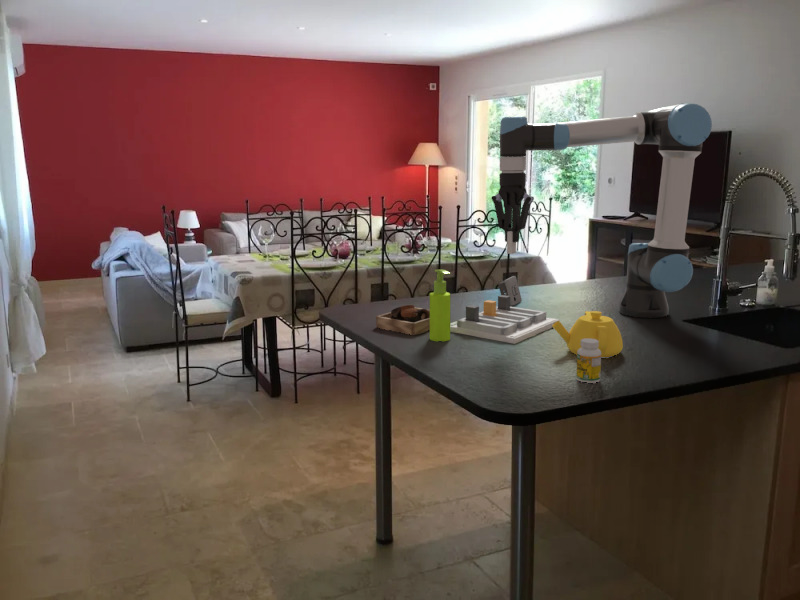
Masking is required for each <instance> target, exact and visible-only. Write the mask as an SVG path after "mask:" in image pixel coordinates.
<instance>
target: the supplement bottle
mask: <svg viewBox="0 0 800 600" xmlns="http://www.w3.org/2000/svg"><path fill="white" fill-rule="evenodd" d="M580 345H581V348H579V349H578V351H577V355H576V380H577V381H578V380H579V381H581V382H580V383H582V382H587V383H586V384H588V383H593V384H597V383H596V382H598V383H599V382H600V381H601V372H602V370H601V368H602V359H601V351H600V350H599V349H598V346H599V341H598V340H596V339H590V338H586V339H581V344H580ZM579 381H578V382H579Z"/></svg>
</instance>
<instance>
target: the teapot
mask: <svg viewBox="0 0 800 600" xmlns="http://www.w3.org/2000/svg"><path fill="white" fill-rule="evenodd" d="M602 314H603V312H601V311H599V310H597V311H596V310H593V311H591V310H588V311H584V315H581V316H580V317H578V318H577V319H576V321H575V322H574V323H573V326H572V327H571V328H570V330H569V331H568V329H566V328H565V326H564V325H563V324H562V322H561V320H560V321H557V322H555V323H554V324H553V325H552V328H553V329H554V330H555V331H556V333H558V335H559V336H560V337H561V338H562V340H563V341H564V342H565V343H566V346H567V348H568V350H569V351H570V352H571V353H572V354H573V353H574V354H573V355H575V354H576V355H575V356H577V351H578V349H579V348H581V345H580V344H581V339H586V338H590V339H596V340H598V341H599V346H598V349H599V350H600V351H601V357H610V356H614V355H616V356H618V355H619V354H620V353H621V352H622V350H623V348H624V344H623V343H624V342H623V337H622V334H621V331H620V329H619V327H618V326H617V324H616V322H615V320H614V319H613V318H611V317H610V316H606V315H602ZM617 354H618V355H617Z"/></svg>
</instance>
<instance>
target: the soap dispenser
mask: <svg viewBox="0 0 800 600" xmlns="http://www.w3.org/2000/svg"><path fill="white" fill-rule="evenodd" d="M434 272H435V273H436V279H435V280H434V281H433V288H434V289H433V292H430V293H429V310H430V330H429V340H430V341H433V342H438V341H442V342H448V341H450V340H451V332H450V323H451V293H450V292H447V281H446V280H444V276H448V275H451V272H449V271H448V270H446V269H442V268H441V269H434Z"/></svg>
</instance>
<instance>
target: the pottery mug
mask: <svg viewBox="0 0 800 600" xmlns="http://www.w3.org/2000/svg"><path fill="white" fill-rule="evenodd" d="M415 307H416V306H415V305H413V304H406V305H402V306H398V307H396V308H393V309H391V311H390V312H391V313H392V316H391V319H397V320H402V321H407V322H413V323H414V322H417V321H420V320H423V319H422V318H421V316H422V314H425V317H424V319H427V318H429V317H430V314H429V311H428V310H429V309H428V308H422V309H420V310H416V309H415ZM427 309H428V310H427ZM416 313H417V315H416Z"/></svg>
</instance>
